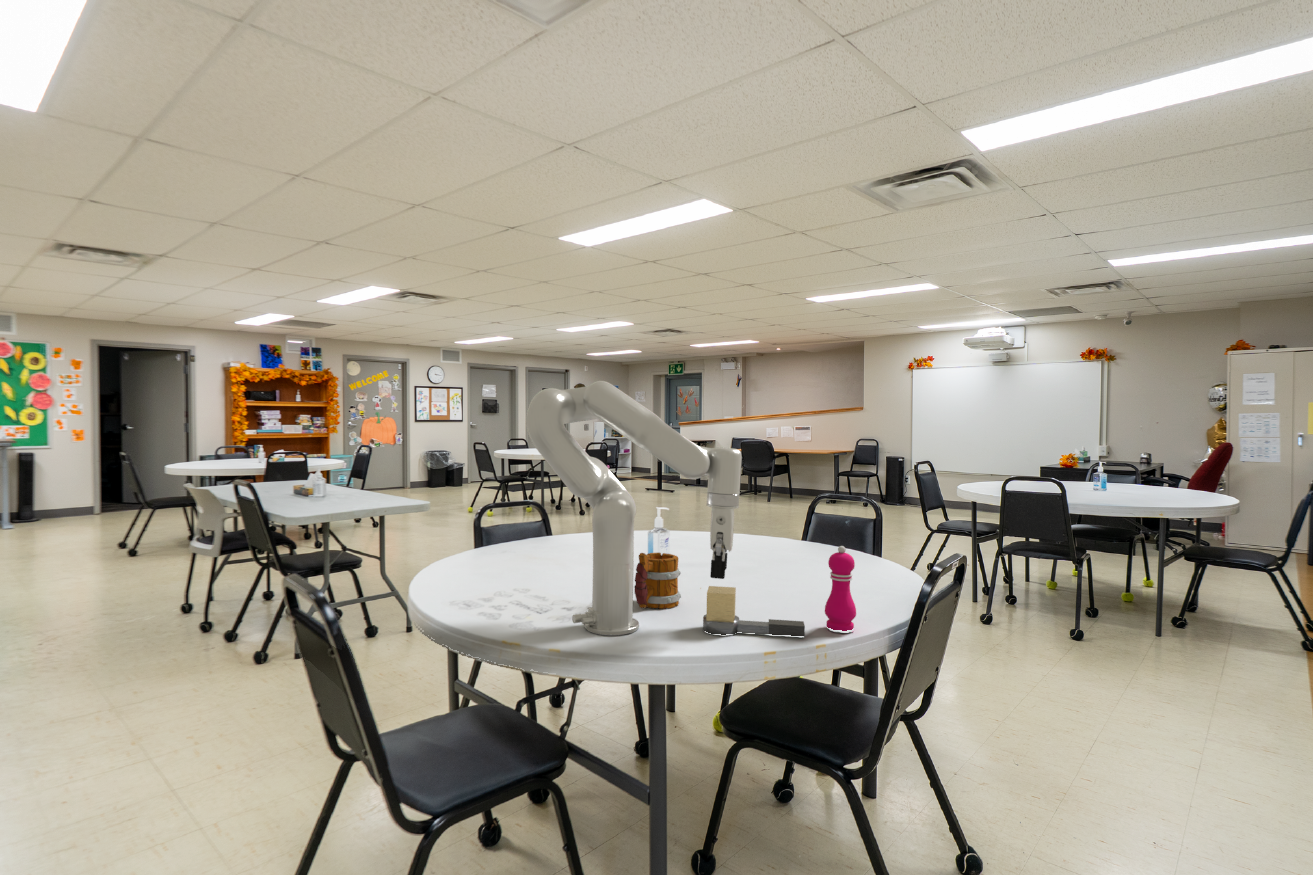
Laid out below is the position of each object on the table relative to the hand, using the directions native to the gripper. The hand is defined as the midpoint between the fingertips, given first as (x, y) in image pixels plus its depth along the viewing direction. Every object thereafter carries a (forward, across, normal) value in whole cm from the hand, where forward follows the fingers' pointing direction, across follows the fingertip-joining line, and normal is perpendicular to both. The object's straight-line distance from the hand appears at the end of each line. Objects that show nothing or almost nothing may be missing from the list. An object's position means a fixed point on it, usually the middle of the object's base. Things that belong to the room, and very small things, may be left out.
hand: (718, 573), depth 151 cm
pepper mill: (+12, +7, -29) cm, 32 cm away
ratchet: (+13, 0, -9) cm, 16 cm away
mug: (+14, +17, +17) cm, 28 cm away
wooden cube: (+10, 0, -1) cm, 10 cm away
